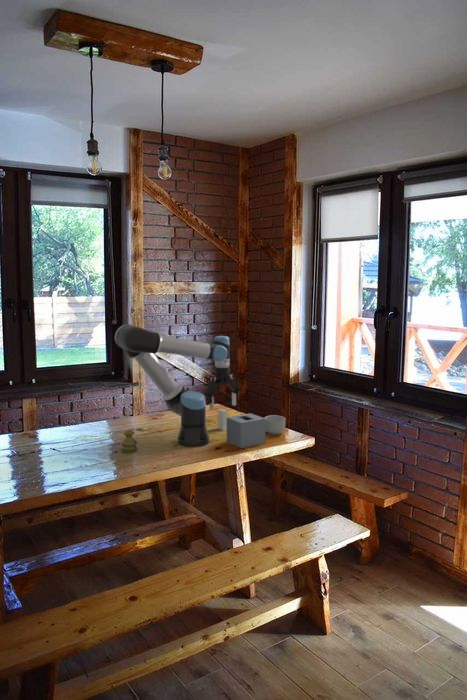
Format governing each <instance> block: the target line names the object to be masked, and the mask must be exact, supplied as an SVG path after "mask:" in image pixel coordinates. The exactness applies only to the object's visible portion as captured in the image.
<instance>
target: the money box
mask: <svg viewBox="0 0 467 700" xmlns="http://www.w3.org/2000/svg"><path fill="white" fill-rule="evenodd" d="M226 442H227V443H228V444H231V445H233V446H235V447H237V448H240V449H245V448H248V447H249V448H250V447H253V446H259V445H263V444H266V430H265V417H262V416H259V415H256V414H254V413H251V412H250V413H246V414H245V413H244V414H239V415H233V416H227V430H226Z"/></svg>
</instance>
